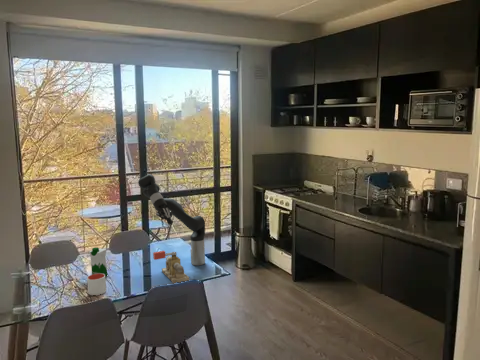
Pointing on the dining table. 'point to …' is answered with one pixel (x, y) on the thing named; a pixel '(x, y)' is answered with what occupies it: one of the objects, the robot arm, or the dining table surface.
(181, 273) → the valve
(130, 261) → the dining table surface
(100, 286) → the cup
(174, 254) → the lever
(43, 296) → the dining table surface
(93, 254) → the milk carton
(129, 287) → the dining table surface
